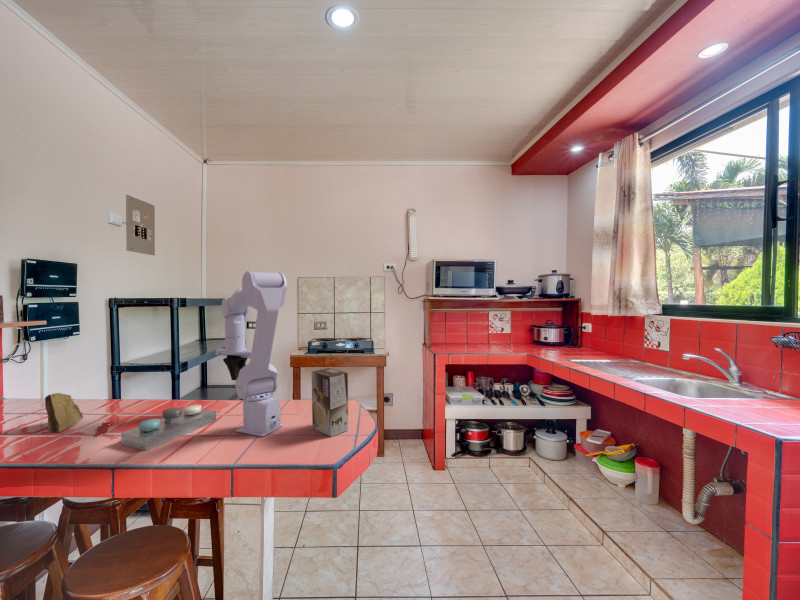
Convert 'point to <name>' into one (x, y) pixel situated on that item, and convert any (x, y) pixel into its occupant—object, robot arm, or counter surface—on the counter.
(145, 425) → the button teal
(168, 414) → the button charcoal
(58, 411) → the rock
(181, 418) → the panel
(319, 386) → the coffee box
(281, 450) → the counter surface
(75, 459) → the counter surface
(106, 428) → the cayenne pepper
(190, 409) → the button ivory
